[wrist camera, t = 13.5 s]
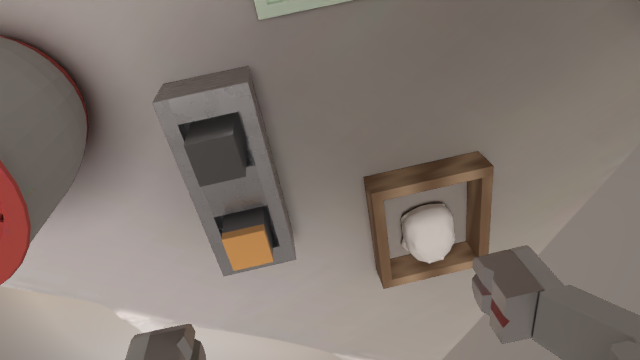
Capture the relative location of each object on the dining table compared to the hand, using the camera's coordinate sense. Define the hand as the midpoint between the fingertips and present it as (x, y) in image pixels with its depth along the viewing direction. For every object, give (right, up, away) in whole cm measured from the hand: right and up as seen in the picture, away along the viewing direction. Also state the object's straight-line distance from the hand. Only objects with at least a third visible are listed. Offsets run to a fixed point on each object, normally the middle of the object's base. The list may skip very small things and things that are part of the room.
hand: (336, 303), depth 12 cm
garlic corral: (+12, -1, +39) cm, 40 cm away
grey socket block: (-9, +5, +32) cm, 33 cm away
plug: (-8, 0, +33) cm, 34 cm away
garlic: (+13, -2, +40) cm, 42 cm away
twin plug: (-10, +9, +28) cm, 31 cm away
